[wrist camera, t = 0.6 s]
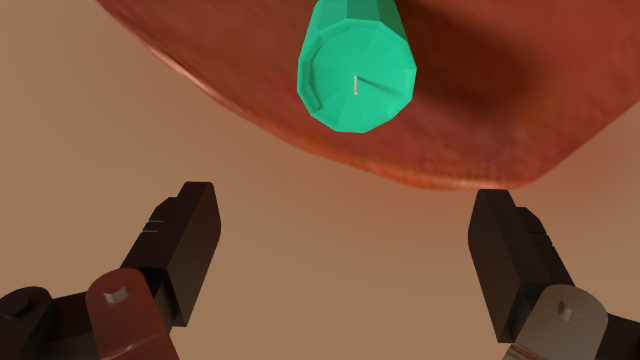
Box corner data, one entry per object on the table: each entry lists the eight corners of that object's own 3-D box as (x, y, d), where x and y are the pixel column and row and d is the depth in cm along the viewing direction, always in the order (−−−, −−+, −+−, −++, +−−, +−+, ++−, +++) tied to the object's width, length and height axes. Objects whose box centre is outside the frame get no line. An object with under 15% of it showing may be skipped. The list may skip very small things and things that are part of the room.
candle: (321, 69, 32) (307, 155, 22) (304, -16, 28) (278, 41, 19) (402, 56, 31) (425, 139, 21) (394, -34, 27) (417, 15, 18)
